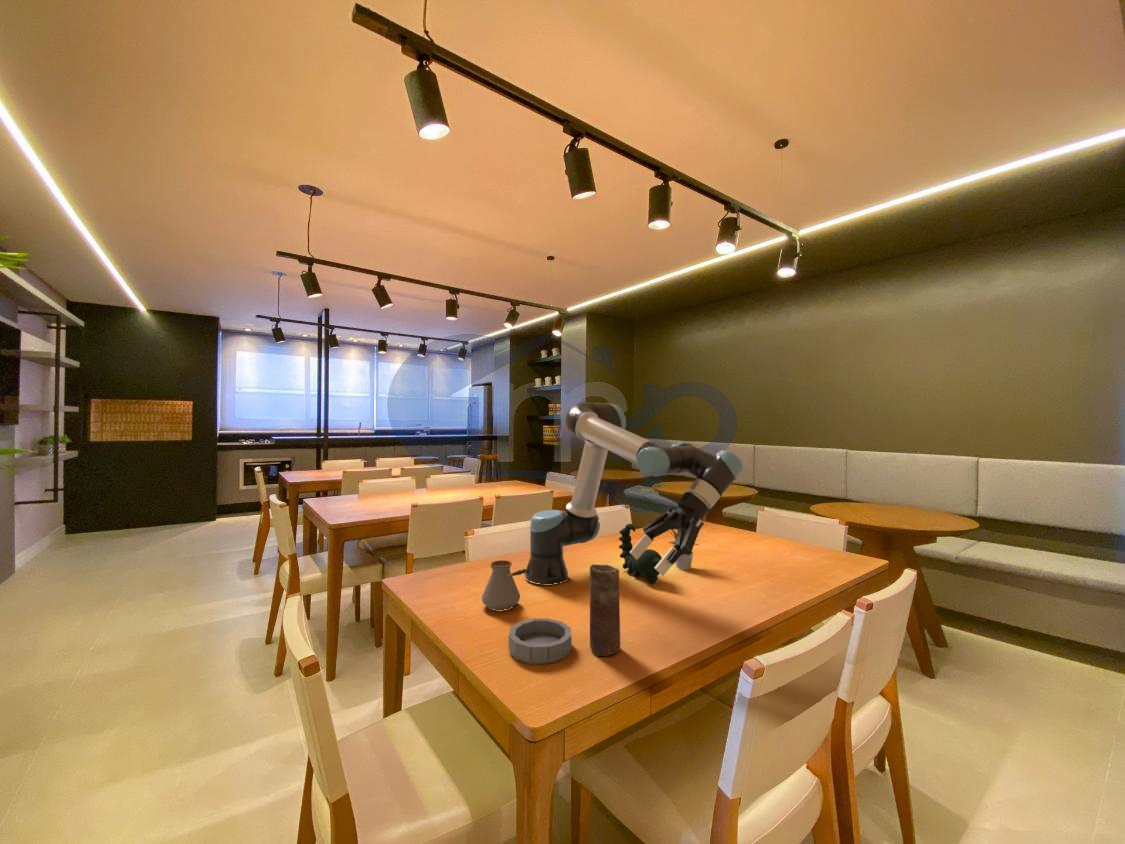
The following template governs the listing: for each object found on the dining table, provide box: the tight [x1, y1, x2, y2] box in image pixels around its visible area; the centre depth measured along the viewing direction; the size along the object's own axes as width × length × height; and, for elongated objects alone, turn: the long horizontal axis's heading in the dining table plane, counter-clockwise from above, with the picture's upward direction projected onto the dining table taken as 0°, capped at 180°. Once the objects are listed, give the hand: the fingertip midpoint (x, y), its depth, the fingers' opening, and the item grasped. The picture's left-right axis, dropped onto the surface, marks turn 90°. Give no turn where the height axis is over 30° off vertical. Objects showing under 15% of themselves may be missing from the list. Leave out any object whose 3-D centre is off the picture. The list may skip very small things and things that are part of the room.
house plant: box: [668, 529, 703, 571], centre depth 170 cm, size 14×14×16 cm
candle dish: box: [508, 617, 573, 665], centre depth 108 cm, size 15×15×4 cm
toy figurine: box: [618, 523, 663, 584], centre depth 160 cm, size 9×19×25 cm
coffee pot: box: [481, 559, 532, 610], centre depth 130 cm, size 21×12×15 cm, turn 37°
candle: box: [589, 564, 621, 657], centre depth 108 cm, size 8×7×20 cm
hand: (645, 563), depth 111 cm, fingers open, 13 cm apart
